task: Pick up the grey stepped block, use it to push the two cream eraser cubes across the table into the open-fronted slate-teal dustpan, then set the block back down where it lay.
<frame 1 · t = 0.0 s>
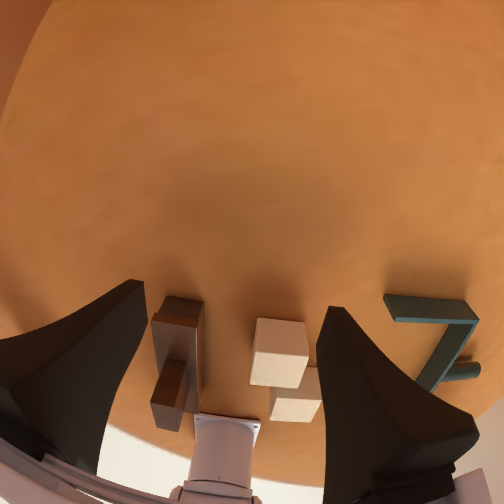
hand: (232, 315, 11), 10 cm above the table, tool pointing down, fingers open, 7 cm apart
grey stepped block: (186, 348, 26), on the table
eraser 2: (277, 337, 25), on the table
eraser 1: (293, 378, 27), on the table
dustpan: (392, 365, 26), on the table
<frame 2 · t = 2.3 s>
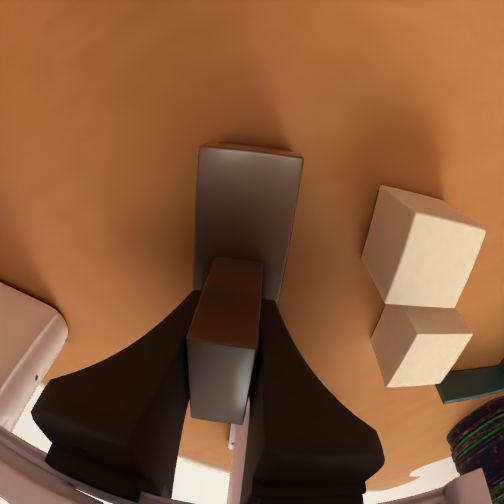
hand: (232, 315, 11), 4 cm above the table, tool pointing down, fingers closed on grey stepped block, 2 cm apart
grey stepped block: (242, 261, 15), on the table, touching gripper
storage jar: (478, 419, 24), on the table
eraser 2: (404, 229, 14), on the table
eraser 1: (407, 317, 16), on the table
photo printer: (24, 305, 18), on the table
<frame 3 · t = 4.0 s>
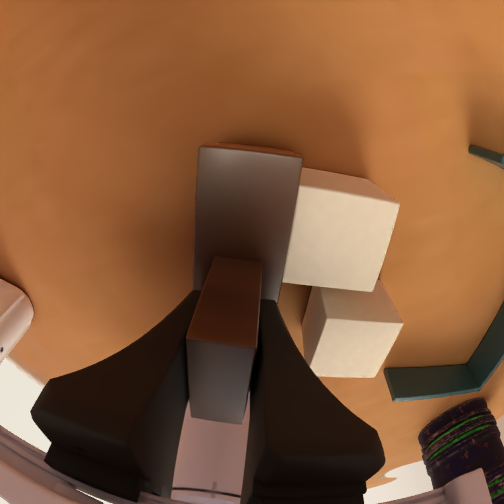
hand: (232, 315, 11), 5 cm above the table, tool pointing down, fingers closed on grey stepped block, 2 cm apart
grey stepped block: (242, 261, 15), point 1 cm above the table, touching gripper
storage jar: (452, 421, 24), on the table
eraser 2: (324, 210, 14), on the table
eraser 1: (340, 304, 17), on the table
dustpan: (476, 284, 16), on the table
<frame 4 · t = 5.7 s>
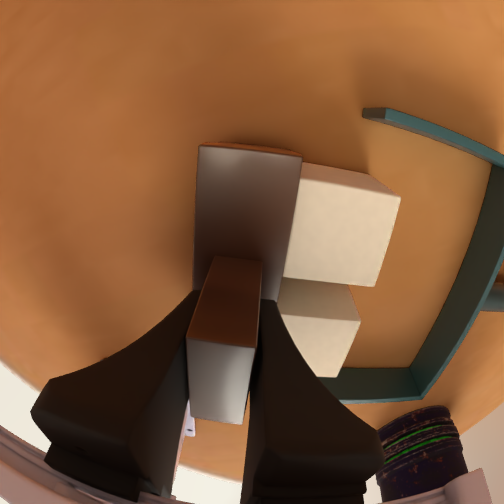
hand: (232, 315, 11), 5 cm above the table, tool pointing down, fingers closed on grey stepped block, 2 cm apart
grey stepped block: (241, 260, 15), point 1 cm above the table, touching eraser 2, gripper
storage jar: (410, 429, 24), on the table
eraser 2: (324, 205, 14), on the table, touching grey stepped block
eraser 1: (303, 301, 17), on the table
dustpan: (400, 274, 16), on the table
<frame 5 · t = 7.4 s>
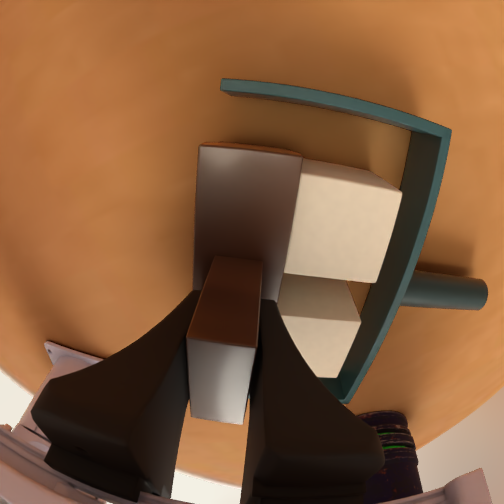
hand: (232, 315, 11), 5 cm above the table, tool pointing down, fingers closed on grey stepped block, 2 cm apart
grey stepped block: (242, 260, 15), point 1 cm above the table, touching eraser 1, eraser 2, gripper
storage jar: (362, 434, 24), on the table
eraser 2: (325, 202, 14), on the table, touching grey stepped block
eraser 1: (303, 301, 17), on the table, touching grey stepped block
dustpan: (300, 261, 16), on the table
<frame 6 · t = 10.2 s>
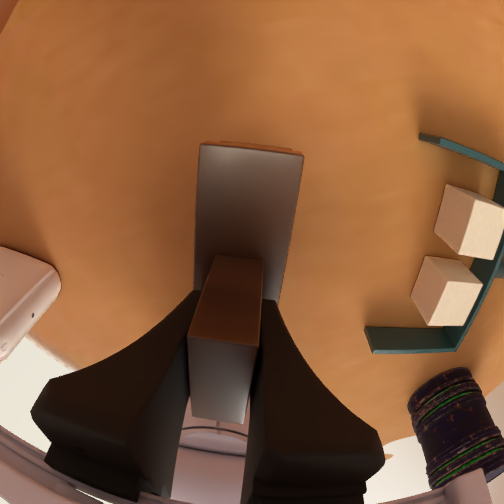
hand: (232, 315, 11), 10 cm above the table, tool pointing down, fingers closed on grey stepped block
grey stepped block: (242, 260, 15), point 6 cm above the table, touching gripper
storage jar: (439, 391, 29), on the table
eraser 2: (457, 212, 19), on the table
eraser 1: (435, 278, 22), on the table
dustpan: (439, 250, 20), on the table
photo printer: (28, 267, 24), on the table
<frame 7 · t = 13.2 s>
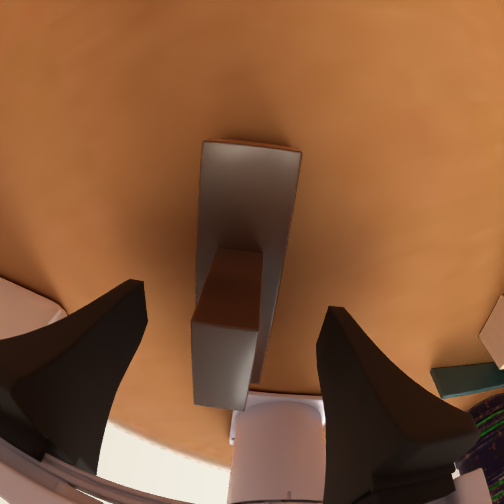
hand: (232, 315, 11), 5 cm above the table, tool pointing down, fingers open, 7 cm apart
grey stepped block: (243, 254, 15), on the table
storage jar: (476, 416, 24), on the table
eraser 1: (502, 316, 17), on the table
photo printer: (28, 301, 19), on the table
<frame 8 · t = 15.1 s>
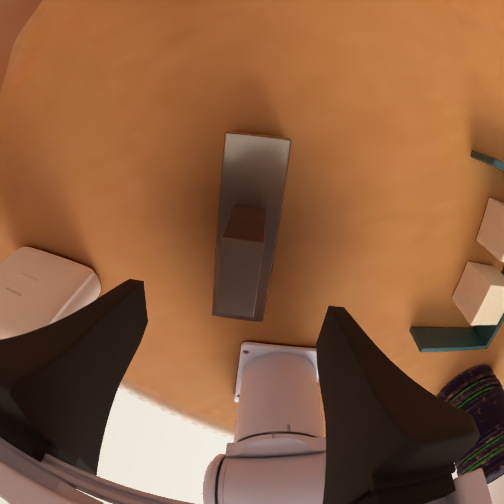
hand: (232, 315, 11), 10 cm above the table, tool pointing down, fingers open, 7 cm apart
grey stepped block: (250, 218, 20), on the table
storage jar: (463, 387, 29), on the table
eraser 2: (495, 223, 19), on the table
eraser 1: (473, 282, 21), on the table
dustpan: (478, 256, 20), on the table
photo printer: (60, 270, 24), on the table
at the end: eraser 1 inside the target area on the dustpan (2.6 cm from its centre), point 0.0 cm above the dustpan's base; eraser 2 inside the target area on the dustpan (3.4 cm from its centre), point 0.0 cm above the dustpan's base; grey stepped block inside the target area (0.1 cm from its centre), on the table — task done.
